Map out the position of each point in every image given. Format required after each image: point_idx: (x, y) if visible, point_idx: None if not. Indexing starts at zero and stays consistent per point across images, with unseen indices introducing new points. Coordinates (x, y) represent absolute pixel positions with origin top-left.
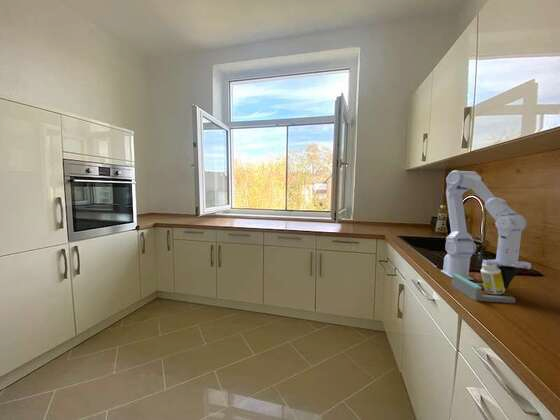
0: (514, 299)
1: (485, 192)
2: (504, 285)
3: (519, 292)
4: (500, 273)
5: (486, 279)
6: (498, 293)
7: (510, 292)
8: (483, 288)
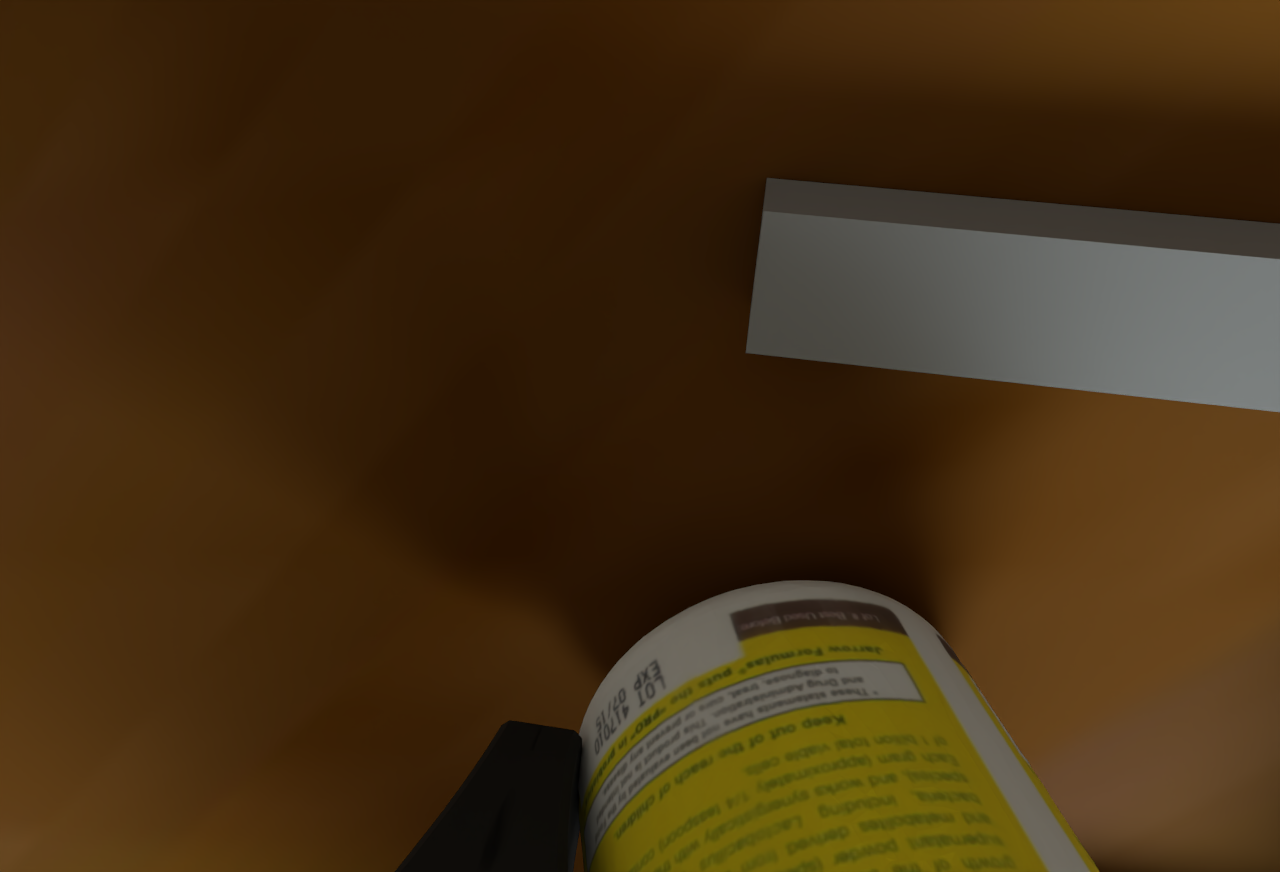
0: (789, 209)
1: None
2: (572, 799)
3: (168, 694)
4: None
5: None
6: (855, 588)
7: (347, 702)
8: None
